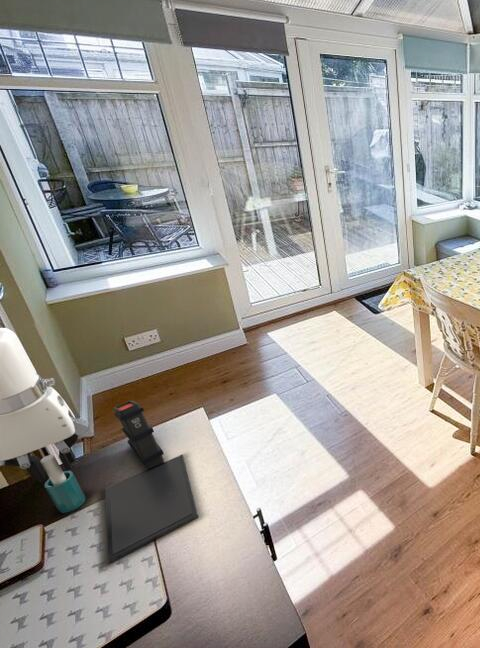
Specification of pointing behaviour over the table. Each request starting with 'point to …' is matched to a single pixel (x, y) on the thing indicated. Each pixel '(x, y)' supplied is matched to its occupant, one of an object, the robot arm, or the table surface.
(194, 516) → the tablet
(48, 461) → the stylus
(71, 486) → the pen pot
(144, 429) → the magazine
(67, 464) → the robot arm
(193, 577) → the table surface
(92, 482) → the table surface
